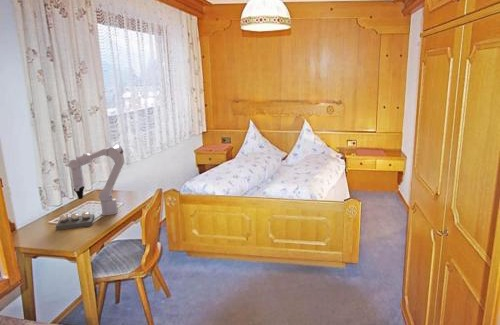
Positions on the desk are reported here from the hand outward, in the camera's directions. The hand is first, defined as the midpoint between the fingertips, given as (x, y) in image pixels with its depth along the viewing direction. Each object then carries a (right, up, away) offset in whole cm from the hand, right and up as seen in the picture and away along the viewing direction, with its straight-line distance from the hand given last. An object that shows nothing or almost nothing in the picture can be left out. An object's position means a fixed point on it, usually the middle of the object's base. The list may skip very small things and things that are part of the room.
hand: (80, 198), depth 234 cm
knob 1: (-3, -14, -13) cm, 20 cm away
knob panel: (+3, -14, -12) cm, 18 cm away
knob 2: (+9, -13, -10) cm, 19 cm away
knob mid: (+3, -14, -12) cm, 18 cm away
